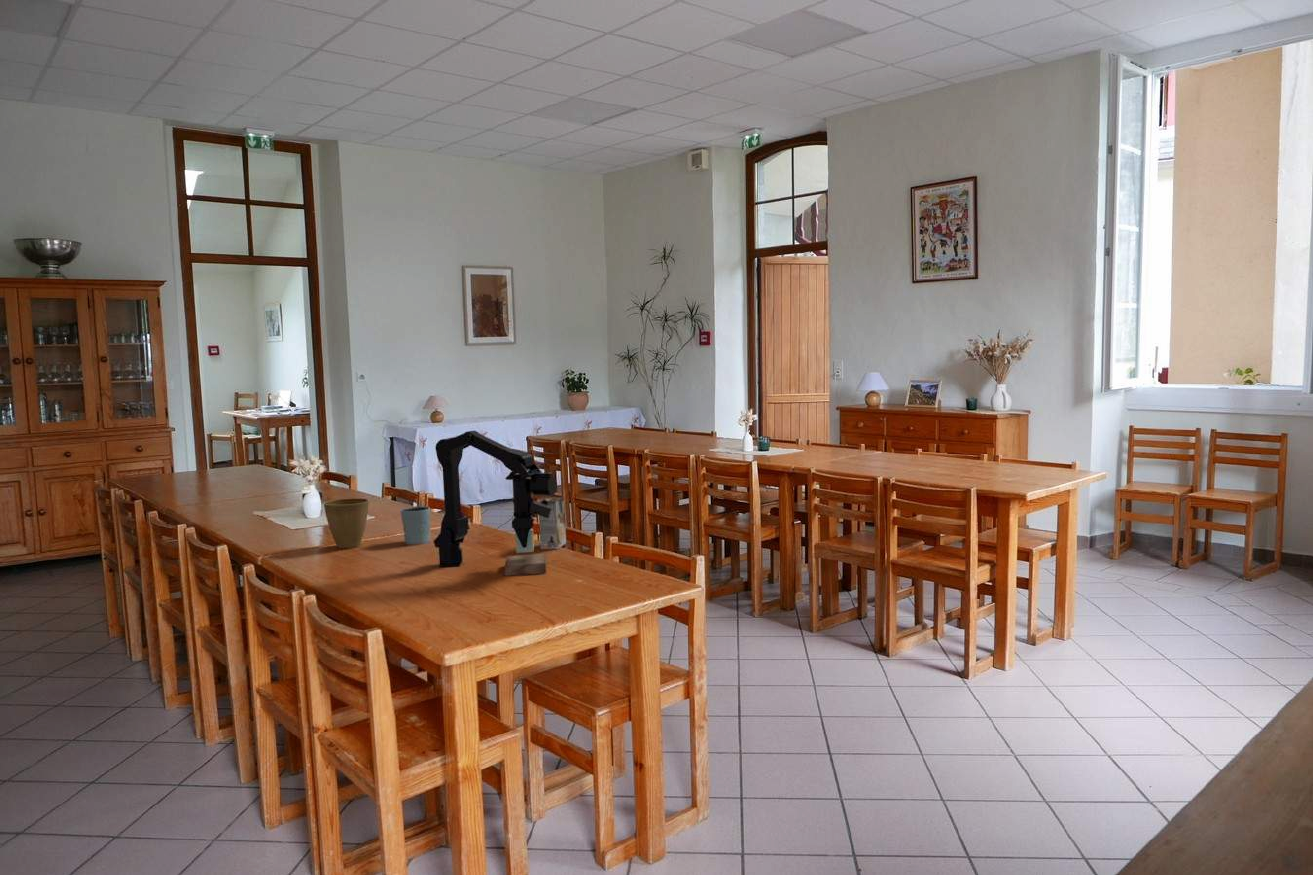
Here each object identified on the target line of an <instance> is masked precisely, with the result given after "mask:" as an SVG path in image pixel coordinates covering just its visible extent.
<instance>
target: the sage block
mask: <svg viewBox="0 0 1313 875" xmlns="http://www.w3.org/2000/svg"><path fill="white" fill-rule="evenodd" d="M515 549H516V550H515V551H516V554H520V553H534V549H535V546H534V529H533V528H531V529H530V530H529V533H528V540H527V547H526V548H523V547H522V545H521V543H520V540H519V538H518V536H517V534H516V533H515Z"/></svg>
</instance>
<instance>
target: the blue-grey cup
mask: <svg viewBox="0 0 1313 875" xmlns="http://www.w3.org/2000/svg"><path fill="white" fill-rule="evenodd" d="M400 515H401V516H400V517H401V521H402V526H403V533H404V534H403V536H404V542H405V544H406V545H410V546H416V545H424V544H428V543H430V542H431V531H430V530H431V523H430V522H431V507H430V506H411V507H410V506H409V507H405V508H402V509H400Z"/></svg>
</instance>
